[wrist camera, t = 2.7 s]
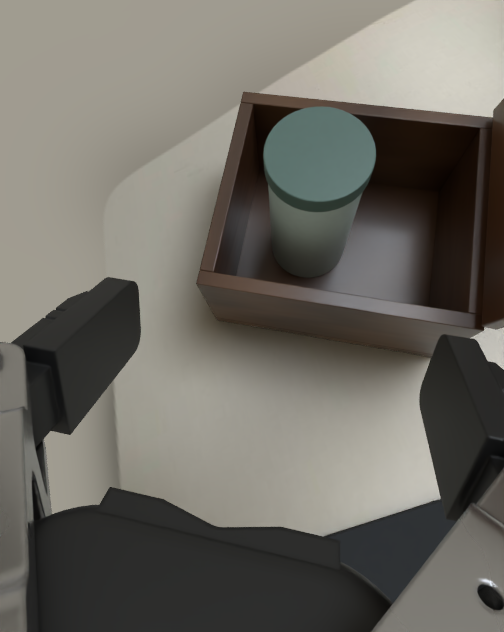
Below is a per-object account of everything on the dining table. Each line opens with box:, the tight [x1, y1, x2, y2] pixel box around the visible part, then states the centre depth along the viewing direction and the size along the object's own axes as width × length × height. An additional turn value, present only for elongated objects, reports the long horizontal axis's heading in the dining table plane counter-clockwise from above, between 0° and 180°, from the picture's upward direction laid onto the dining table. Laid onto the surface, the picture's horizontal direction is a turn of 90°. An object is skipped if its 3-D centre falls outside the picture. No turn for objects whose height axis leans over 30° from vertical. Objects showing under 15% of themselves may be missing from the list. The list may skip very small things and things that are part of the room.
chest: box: [196, 92, 493, 357], centre depth 26 cm, size 15×13×7 cm
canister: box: [263, 106, 376, 278], centre depth 25 cm, size 5×5×10 cm
